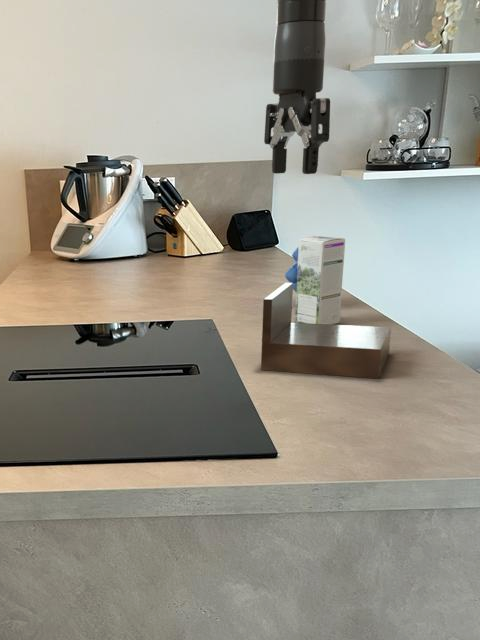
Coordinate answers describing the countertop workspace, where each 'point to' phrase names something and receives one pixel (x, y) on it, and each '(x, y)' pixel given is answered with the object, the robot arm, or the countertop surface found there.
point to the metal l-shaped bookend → (319, 343)
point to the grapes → (293, 271)
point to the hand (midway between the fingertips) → (293, 173)
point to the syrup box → (319, 280)
